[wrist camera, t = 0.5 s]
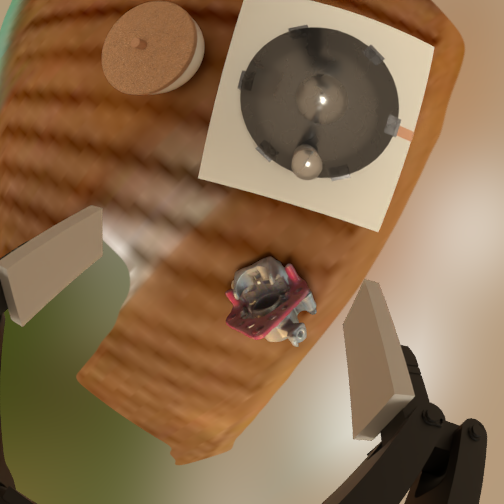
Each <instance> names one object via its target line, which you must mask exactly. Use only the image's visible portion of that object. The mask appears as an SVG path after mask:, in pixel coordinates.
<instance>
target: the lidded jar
mask: <svg viewBox="0 0 504 504" xmlns="http://www.w3.org/2000/svg"><path fill="white" fill-rule="evenodd" d="M204 50H205V43H204V38H203V34H202V32H201V30H200V28H199V26H198V24H197V23H196V22H195V21H194V19H193V18H192V17H191V16H190V15H189V14H188V12H186V11H185V10H184V9H183V8H182V7H180V6H178V5H176V4H174V3H171V2H168V1H152V2H147V3H144V4H141V5H138V6H136V7H135V8H133V9H131V10H129V11H128V12H126V13H125V14H124V15H123V16H122V17H121V18H120V19H119V20H118V21H117V22H116V23H115V24H114V25H113V27H112V28H111V30H110V32H109V33H108V35H107V37H106V40H105V42H104V46H103V50H102V67H103V71H104V74H105V77H106V78H107V80H108V81H109V83H110V84H111V85H112V86H113V87H114V88H116V89H117V90H119V91H121V92H123V93H126V94H130V95H155V94H161V93H166V92H169V91H172V90H174V89H177V88H178V87H180V86H182V85H183V84H185V83H186V82H187V81H188V80H189V79H190V78H192V76H193V75H194V74H195V73H196V72H197V70H198V68H199V67H200V65H201V62H202V60H203V56H204Z"/></svg>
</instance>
